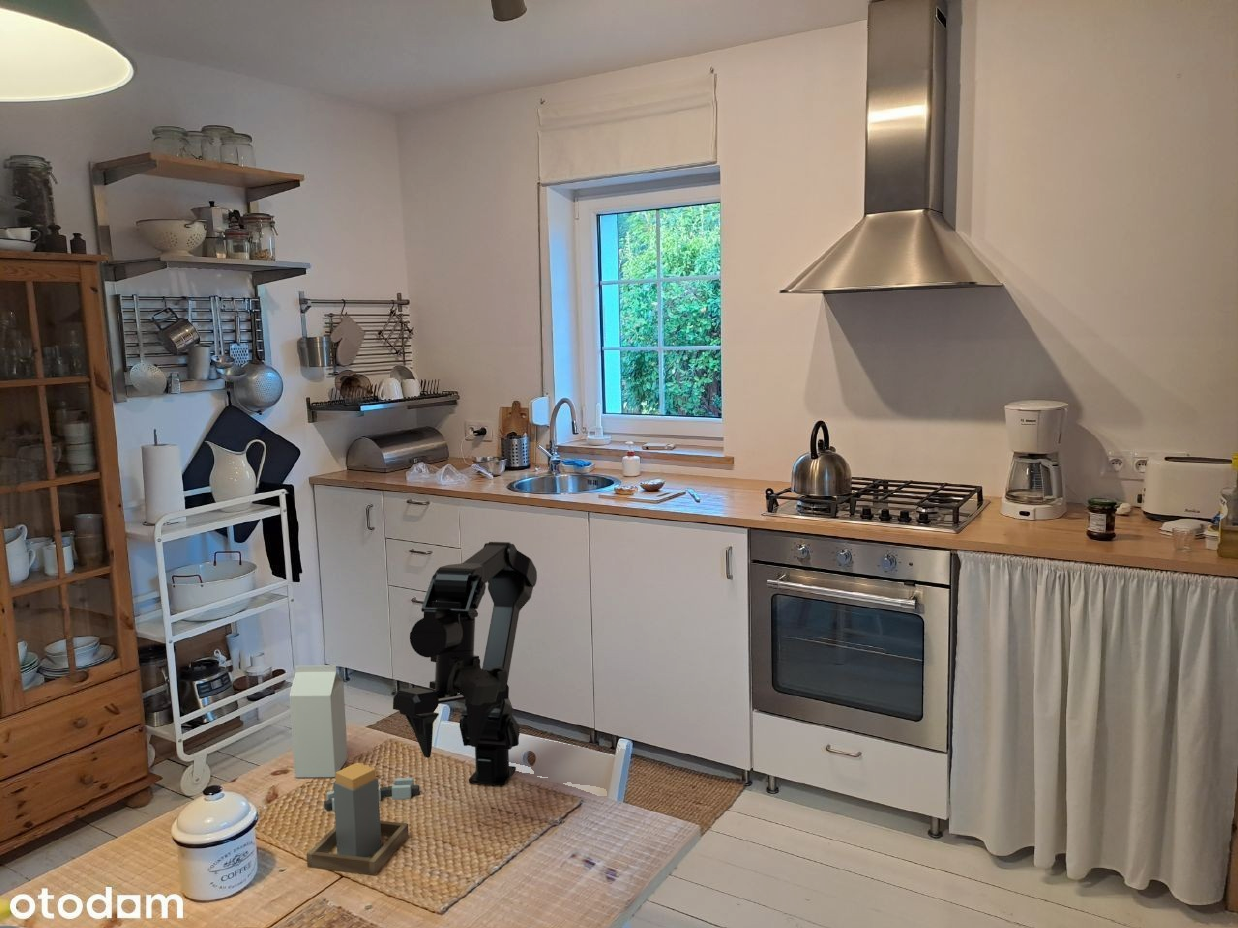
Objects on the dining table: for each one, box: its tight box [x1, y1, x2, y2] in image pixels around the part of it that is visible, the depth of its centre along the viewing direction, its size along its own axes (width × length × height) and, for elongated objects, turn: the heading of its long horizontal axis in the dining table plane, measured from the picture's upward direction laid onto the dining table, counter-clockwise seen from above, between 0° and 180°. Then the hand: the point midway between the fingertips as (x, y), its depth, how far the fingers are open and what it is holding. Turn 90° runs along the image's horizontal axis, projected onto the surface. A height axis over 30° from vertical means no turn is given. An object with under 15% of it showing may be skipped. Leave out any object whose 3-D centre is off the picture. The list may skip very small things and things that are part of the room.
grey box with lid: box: [332, 762, 383, 858], centre depth 132 cm, size 4×4×12 cm
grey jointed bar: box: [323, 777, 421, 813], centre depth 148 cm, size 4×15×2 cm, turn 110°
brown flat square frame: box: [306, 820, 410, 876], centre depth 133 cm, size 11×11×2 cm
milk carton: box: [289, 664, 348, 778], centre depth 158 cm, size 7×7×19 cm
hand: (451, 751), depth 138 cm, fingers open, 9 cm apart
